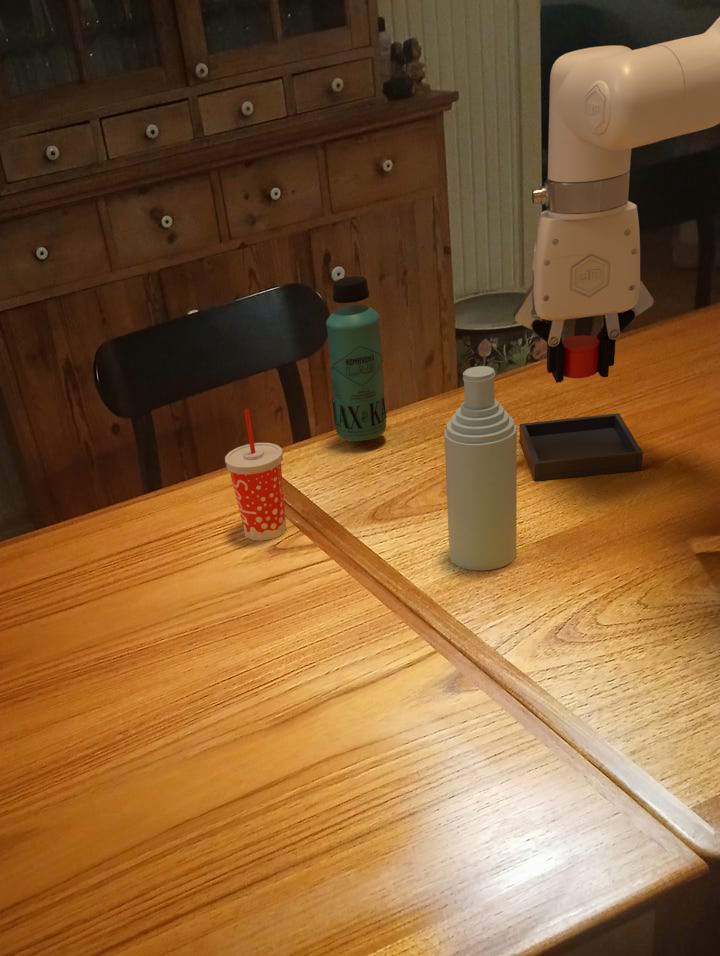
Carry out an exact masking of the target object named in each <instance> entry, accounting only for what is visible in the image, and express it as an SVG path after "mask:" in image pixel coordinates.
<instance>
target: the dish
mask: <svg viewBox="0 0 720 956" xmlns="http://www.w3.org/2000/svg"><path fill="white" fill-rule="evenodd" d="M519 442H520V445H521V448H522V451H523V453H524V457H525V460H526V463H527V465H528V468H529V470H530V473H531V475H532V479H533V481H534V482H539V481H550V480H559V479H569V478H578V477H588V476H599V475H608V474H609V475H610V474H620V473H628V472H638V471H642V470H643V457H644V452H643V450H642V449H641V447H640V445H639V443H638V442H637V440H636V438H635V437H634V435H633V434H632V432H631V431H630V429H629V426H628V425H627V424H626V422H625V421H624V418H623V417H622V415H621V414H620V413H618V412H617V413H616V412H615V413H607V414H598V415H589V416H580V417H571V418H570V417H569V418H560V419H552V420H543V421H534V422H525V423H519Z"/></svg>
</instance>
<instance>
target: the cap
mask: <svg viewBox="0 0 720 956" xmlns="http://www.w3.org/2000/svg"><path fill="white" fill-rule="evenodd" d="M562 343H563V345H564V347H565V353H564V377H565V378H570V379H586V378H590V377H592V376H594V375H596V374H597V373H598V368H599V352H600V341H599V339H598V338H597V336H592V335H585V334H584V335H582V334H581V335H574V336H569V337H566V338H564V339H562Z"/></svg>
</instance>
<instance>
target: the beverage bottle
mask: <svg viewBox="0 0 720 956" xmlns="http://www.w3.org/2000/svg"><path fill="white" fill-rule="evenodd" d="M369 297H370V290H369V286H368V279H367V278H366V277H364V276H360V275H355V276H354V275H353V276H345V277H342V278H339V279H336V280H335V281H334V282H333V284H332V301H333V302H334V303H338V304H347V305H344V306H340V307H337V308H336V309H335V310H334V311H332V313H331V314H330V315H329V316H328V317H327V319H326V321H325V326H326V330H327V341H328V342H327V343H328V355H329V364H330V367H329V368H330V369H329V370H328V371H329V374H330V381H329V383H331V387H330V389H331V390H330V391H331V395H332V396H331V401H332V411H333V421H334V423H333V425H334V426H333V427H335V429H334V431H335V433H337V436H338V437H339V438H340V439H342V440H344V441H349V442H364V441H369V440H373V439H376V438H378V437H380V436H381V435H383V434H384V433H385V431H386V429H387V423H388V420H387V418H388V415H387V413H388V411H387V408H386V397H387V396H386V395H387V394H385V389H386V387H385V381H384V378H385V375H384V368H383V367H384V366H383V359H384V356H383V354H382V343H381V329H380V328H381V327H380V318H381V317H380V314H379V313H378V311H376V310H375V309H374V308H372V307H371V306H369V305H368V304H365V303H364V304H363V303H362V304H361V303H360V304H359V303H358V302H361V301H364V300H366V299H368V298H369ZM356 302H357V304H351V303H356Z"/></svg>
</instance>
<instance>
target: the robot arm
mask: <svg viewBox="0 0 720 956" xmlns="http://www.w3.org/2000/svg"><path fill="white" fill-rule="evenodd" d="M548 104H549V109H548V147H547V149H548V150H547V151H548V153H547V158H548V159H547V177H546V180H545V183H543V186H540V187H539V188H534V189H532V190H531V201H532V204H533V205H537V204H540V205H544V207H546V210H543V211H542V212H541V213H540V215H539V218H538V219H539V220H538V224H537V229H536V234H535V241H534V248H533V256H532V268H531V283H530V286H529V288H528V289H527V291H526V292H525V294H524V296H523V297H522V299H521V300H520V302H519V304H518V306H517V307H516V308H515V310H514V312H513V314H512V317H513V320H514V321H515V323H517V324H519V325H521V326H522V327H525V328H527V329H530V330H532V331H533V332H534V333H535V334H537V335H538V336H539V337H540V338H541V339H543V341H545V342H546V371H547V373H548V374H552V377H553V379H554V381H555V383H556V384H557V383H562V382H563V381H564V379H565V378H564V377H565V376H564V353H565V347H564V345H563V343H562V341H563V338H562V333H563V328H564V325H565V320H571V319H582V318H591V317H597V316H600V318H601V325H602V327H601V329H600V331H598V333H597V335H596V338H598V339H599V341H600V352H599V368H598V372H597V373H598V374H599V376H600V377H602V378H608V377H609V372H610V371H609V370H610V367H613V366H614V365H615V356H616V340H617V339H619V337H620V336H621V333H622V332H623V331H624V330H625V329H626V328H627V327H628V326H629V325H630V324H631V323H632V322H633V321H634V319H635V318H636V317H637V316H640V315H641V314H643V313H644V312H645V311H647V310H648V309H649V308H651V307H652V306H653V305H654V303H655V300H654V298H653V296H652V295H651V293H650V292H649V290H648V288H647V287H646V286H645V284H644V282H643V281H642V280H641V237H640V234H641V233H640V221H639V213H638V205H637V204H635V203H633V202H632V201H629V190H630V176H631V157H632V149H635V148H639V147H643V146H646V145H647V146H648V145H650V144H654V143H658V142H660V141H663V140H667V139H668V140H669V139H671V138H676V137H680V136H683V135H688V134H693V133H696V132H700V131H703V130H707V129H710V128H713V127H715V126H717V125H719V124H720V16H718V18H717V19H716V20H715V21H714V22H713V23H712V25H711V26H710V27H708V28H707V29H706V31H705V32H703V33H700V34H696V35H690V36H686V37H682V38H678V39H673V40H669V41H664V42H660V43H656V44H653V45H652V44H651V45H649V46H645V47H640V48H636V49H631V48H630V47H628V46H626V45H625V46H624V45H602V46H601V45H600V46H593V47H586V48H582V49H576V50H572V51H570V52H566V53H564V54H563V55H561V56H559V57H558V58H557V59H556V60H555V61H554V63H553V64H552V67H551V71H550V75H549V103H548ZM533 310H535V313H536V315H537V316H536V315H535V314H533V313H532V312H533ZM545 320H546V321H545Z"/></svg>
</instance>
